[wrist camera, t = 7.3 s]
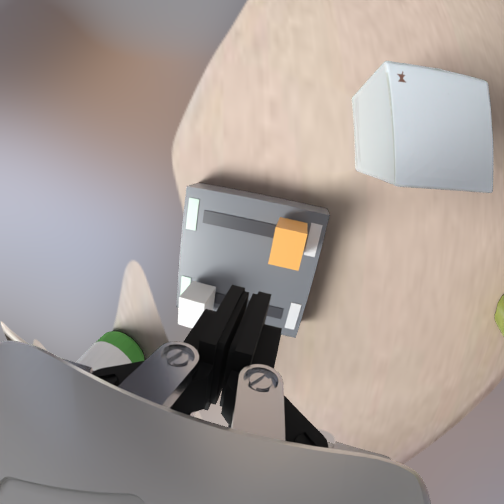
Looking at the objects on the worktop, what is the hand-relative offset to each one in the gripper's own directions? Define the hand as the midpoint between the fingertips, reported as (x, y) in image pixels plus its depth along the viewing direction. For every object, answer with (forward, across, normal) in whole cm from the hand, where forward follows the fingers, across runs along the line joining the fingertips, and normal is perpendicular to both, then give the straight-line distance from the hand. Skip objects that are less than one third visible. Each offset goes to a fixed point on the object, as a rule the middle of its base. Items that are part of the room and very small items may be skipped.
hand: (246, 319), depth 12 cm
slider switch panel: (+18, +3, +4) cm, 18 cm away
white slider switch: (+14, +6, +8) cm, 18 cm away
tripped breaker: (+14, -1, 0) cm, 14 cm away
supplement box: (+18, -8, -10) cm, 23 cm away
